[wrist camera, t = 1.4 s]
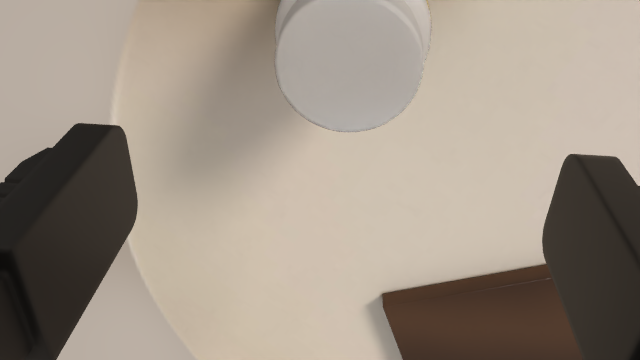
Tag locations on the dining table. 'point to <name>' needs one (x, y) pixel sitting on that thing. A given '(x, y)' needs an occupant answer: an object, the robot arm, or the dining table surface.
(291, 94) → the supplement bottle
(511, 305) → the plate
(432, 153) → the dining table surface
